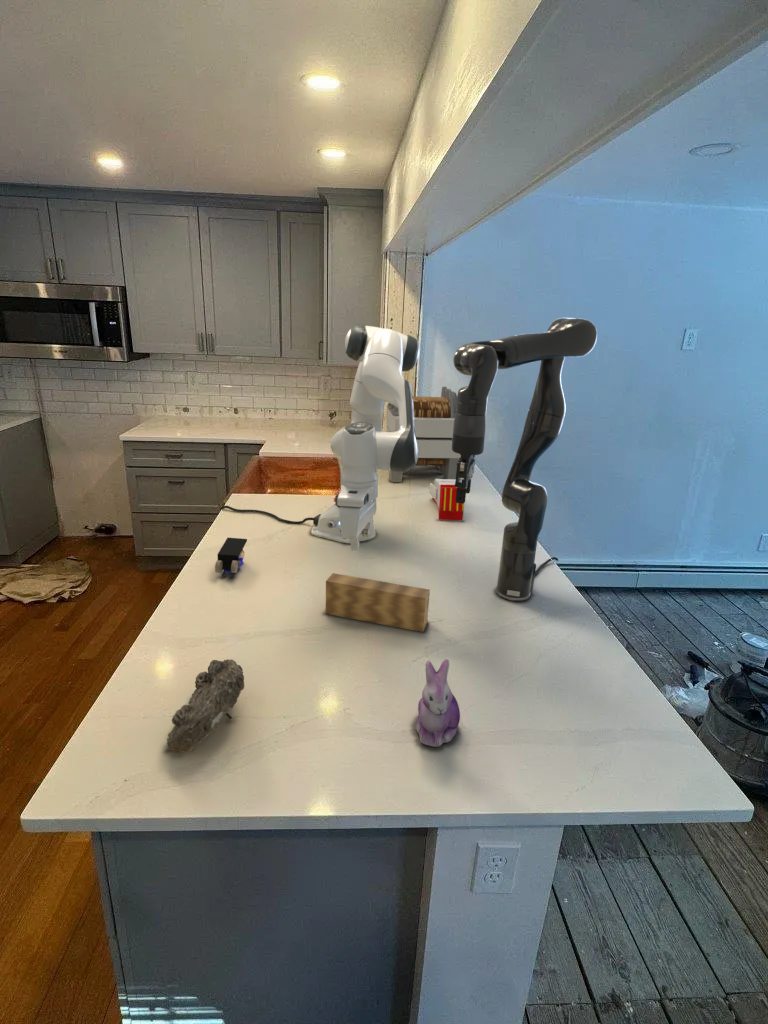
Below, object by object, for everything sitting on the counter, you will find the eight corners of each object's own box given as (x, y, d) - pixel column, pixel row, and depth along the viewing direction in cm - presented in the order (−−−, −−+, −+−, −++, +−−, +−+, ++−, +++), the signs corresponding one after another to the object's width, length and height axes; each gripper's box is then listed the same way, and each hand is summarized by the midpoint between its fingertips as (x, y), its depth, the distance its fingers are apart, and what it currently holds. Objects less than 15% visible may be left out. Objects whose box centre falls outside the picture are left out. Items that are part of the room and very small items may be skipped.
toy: (456, 474, 239) (469, 486, 210) (455, 506, 242) (467, 521, 213) (428, 474, 239) (436, 485, 210) (426, 505, 242) (435, 520, 212)
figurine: (430, 757, 101) (436, 686, 95) (402, 721, 109) (406, 654, 104) (473, 741, 105) (481, 672, 100) (443, 707, 113) (449, 643, 108)
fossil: (192, 660, 117) (244, 628, 112) (224, 691, 120) (276, 661, 115) (142, 746, 98) (202, 712, 93) (182, 779, 101) (242, 748, 96)
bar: (325, 613, 146) (325, 580, 143) (332, 604, 151) (332, 573, 147) (423, 632, 140) (425, 598, 137) (427, 622, 144) (430, 589, 141)
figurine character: (238, 584, 162) (249, 557, 175) (236, 562, 158) (247, 536, 172) (215, 584, 161) (227, 556, 175) (212, 561, 158) (225, 535, 171)
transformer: (382, 463, 289) (386, 382, 275) (445, 464, 293) (451, 384, 279) (390, 482, 257) (394, 392, 243) (460, 483, 261) (468, 394, 247)
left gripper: (359, 478, 149) (359, 527, 154) (334, 501, 130) (336, 556, 135) (382, 479, 148) (382, 529, 152) (360, 502, 129) (361, 558, 133)
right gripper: (481, 440, 126) (474, 508, 131) (488, 428, 139) (481, 491, 144) (448, 436, 128) (442, 504, 133) (457, 425, 141) (452, 487, 146)
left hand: (360, 542), depth 143 cm, fingers open, 8 cm apart
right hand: (462, 497), depth 139 cm, fingers open, 8 cm apart
